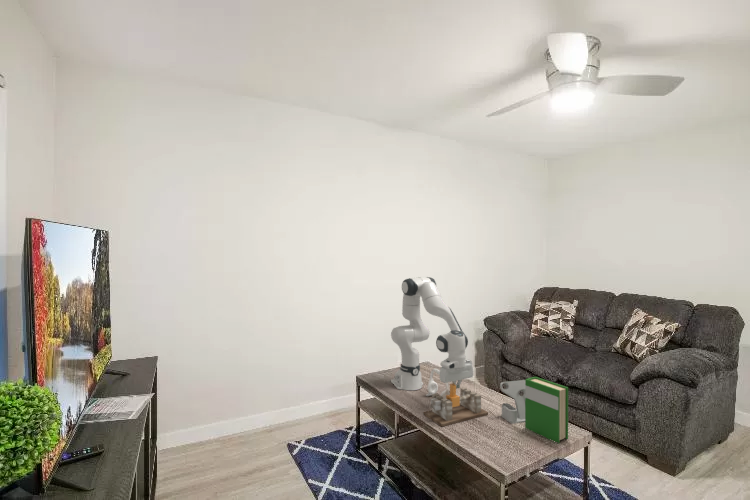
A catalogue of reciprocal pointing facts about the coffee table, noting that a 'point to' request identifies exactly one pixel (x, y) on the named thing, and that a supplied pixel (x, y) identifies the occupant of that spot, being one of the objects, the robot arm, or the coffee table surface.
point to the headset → (434, 387)
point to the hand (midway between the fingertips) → (456, 388)
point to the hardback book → (546, 408)
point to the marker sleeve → (453, 396)
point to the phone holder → (519, 412)
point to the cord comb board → (455, 408)
